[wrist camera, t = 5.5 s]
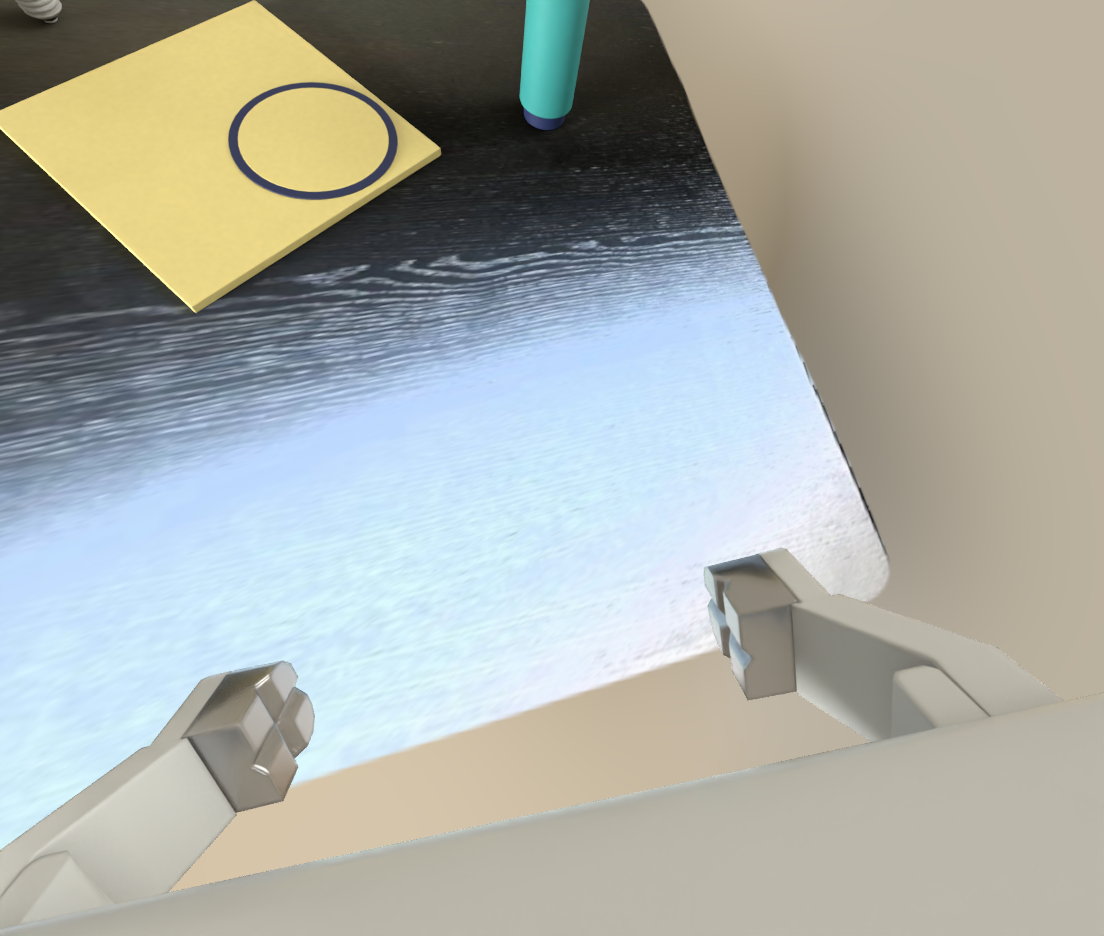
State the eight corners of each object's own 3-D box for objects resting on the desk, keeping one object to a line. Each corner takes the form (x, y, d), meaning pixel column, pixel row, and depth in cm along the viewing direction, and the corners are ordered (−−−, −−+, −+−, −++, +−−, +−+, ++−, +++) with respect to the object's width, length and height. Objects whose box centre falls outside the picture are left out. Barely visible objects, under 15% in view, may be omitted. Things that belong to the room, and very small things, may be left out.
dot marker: (507, 112, 41) (518, -97, 29) (542, 90, 42) (565, -118, 31) (546, 142, 40) (572, -60, 29) (580, 118, 41) (617, -83, 30)
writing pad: (-5, 124, 34) (-15, 113, 33) (257, 8, 41) (253, -3, 40) (196, 313, 31) (190, 306, 31) (441, 155, 38) (440, 146, 37)
